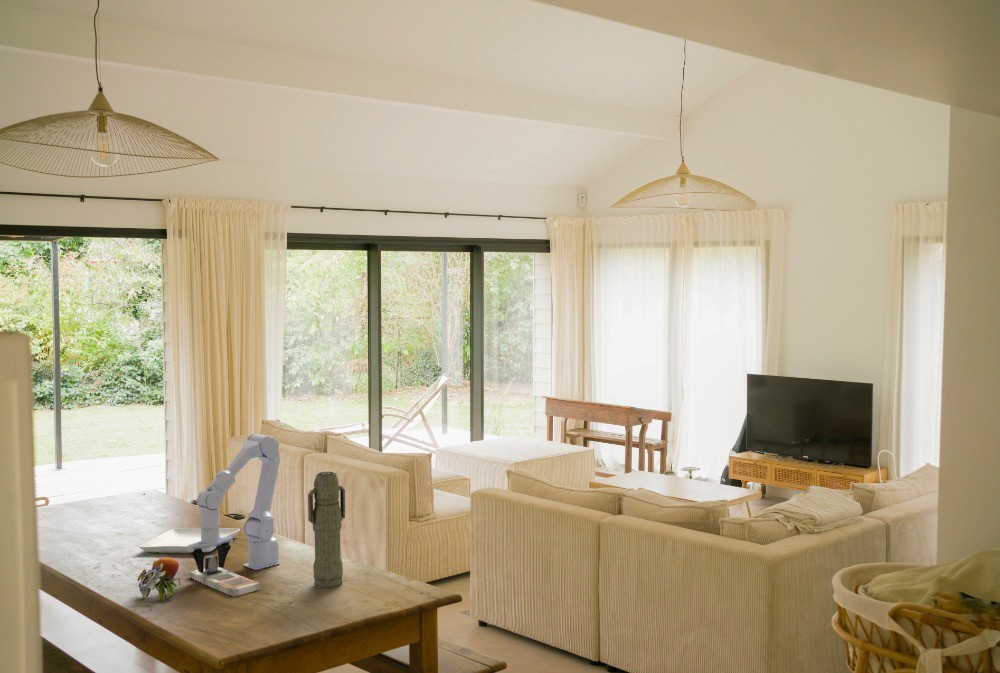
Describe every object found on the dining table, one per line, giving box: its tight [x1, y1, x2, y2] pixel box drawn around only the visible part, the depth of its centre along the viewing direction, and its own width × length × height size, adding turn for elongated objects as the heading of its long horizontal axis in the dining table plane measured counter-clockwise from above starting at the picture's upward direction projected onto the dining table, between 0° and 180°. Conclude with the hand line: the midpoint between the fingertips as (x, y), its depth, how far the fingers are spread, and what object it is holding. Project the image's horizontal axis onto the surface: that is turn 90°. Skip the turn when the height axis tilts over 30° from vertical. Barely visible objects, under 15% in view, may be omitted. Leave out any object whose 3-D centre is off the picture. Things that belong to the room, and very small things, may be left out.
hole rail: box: [188, 566, 261, 597], centre depth 290 cm, size 9×28×2 cm, turn 45°
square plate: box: [139, 527, 241, 554], centre depth 336 cm, size 27×27×4 cm
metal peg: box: [204, 554, 219, 576], centre depth 295 cm, size 4×4×7 cm
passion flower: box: [137, 563, 182, 602], centre depth 278 cm, size 11×11×12 cm
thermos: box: [307, 471, 346, 589], centre depth 287 cm, size 9×12×35 cm
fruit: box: [151, 557, 180, 581], centre depth 296 cm, size 8×8×8 cm
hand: (211, 569), depth 296 cm, fingers open, 6 cm apart
